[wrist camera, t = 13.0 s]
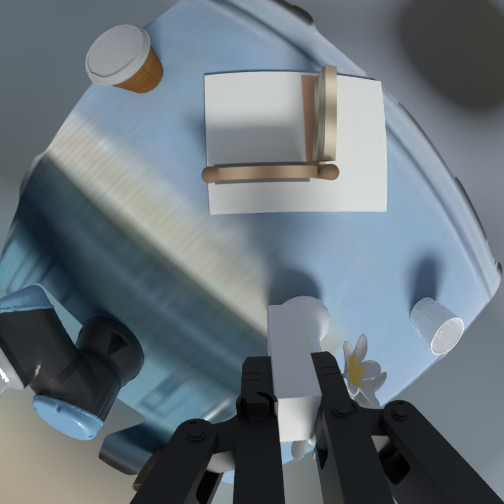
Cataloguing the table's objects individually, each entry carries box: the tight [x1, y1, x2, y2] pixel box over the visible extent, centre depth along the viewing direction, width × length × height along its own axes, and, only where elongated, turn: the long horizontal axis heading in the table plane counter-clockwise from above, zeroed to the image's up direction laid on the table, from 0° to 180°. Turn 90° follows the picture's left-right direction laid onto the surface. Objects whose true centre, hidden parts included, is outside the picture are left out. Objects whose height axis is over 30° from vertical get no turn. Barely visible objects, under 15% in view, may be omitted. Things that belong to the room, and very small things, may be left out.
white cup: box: [410, 297, 464, 355], centre depth 41 cm, size 8×8×10 cm
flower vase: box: [280, 296, 387, 460], centre depth 34 cm, size 13×18×25 cm
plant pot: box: [132, 448, 165, 492], centre depth 53 cm, size 15×15×16 cm
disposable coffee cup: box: [85, 24, 163, 93], centre depth 29 cm, size 10×10×12 cm
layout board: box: [205, 72, 387, 215], centre depth 37 cm, size 28×22×1 cm
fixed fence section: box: [202, 164, 339, 183], centre depth 34 cm, size 16×2×8 cm, turn 92°
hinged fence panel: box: [312, 65, 337, 162], centre depth 32 cm, size 13×2×7 cm, turn 178°
